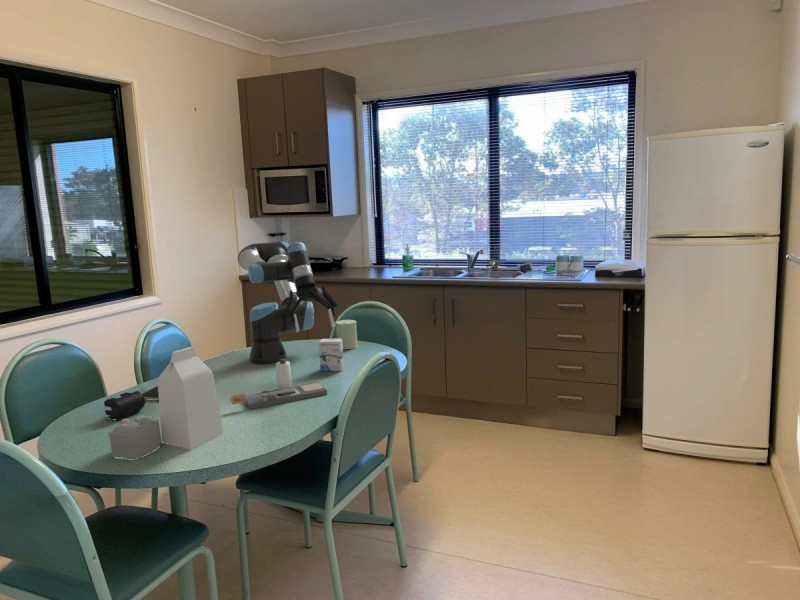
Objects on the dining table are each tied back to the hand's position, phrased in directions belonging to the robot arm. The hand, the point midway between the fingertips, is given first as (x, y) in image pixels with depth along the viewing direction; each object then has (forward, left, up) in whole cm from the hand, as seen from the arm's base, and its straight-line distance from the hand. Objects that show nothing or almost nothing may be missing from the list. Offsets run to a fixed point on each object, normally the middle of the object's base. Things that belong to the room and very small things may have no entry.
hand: (315, 328), depth 224 cm
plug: (+22, -19, -17) cm, 33 cm away
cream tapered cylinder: (-29, +22, -17) cm, 41 cm away
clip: (+25, -27, -15) cm, 40 cm away
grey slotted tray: (+22, -19, -17) cm, 33 cm away
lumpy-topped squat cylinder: (+42, -65, -17) cm, 79 cm away
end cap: (+10, -68, -17) cm, 71 cm away
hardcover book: (-8, -50, -18) cm, 54 cm away
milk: (+42, -51, -17) cm, 68 cm away
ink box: (0, +5, -17) cm, 18 cm away
